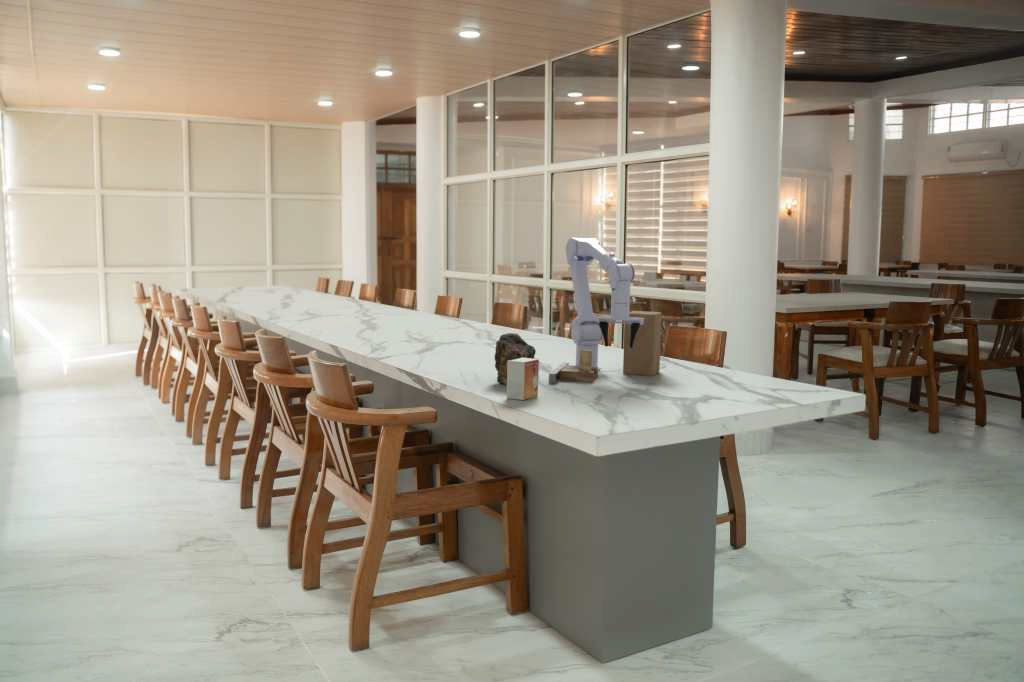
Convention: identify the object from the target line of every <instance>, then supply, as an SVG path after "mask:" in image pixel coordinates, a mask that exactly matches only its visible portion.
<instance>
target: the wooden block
mask: <svg viewBox="0 0 1024 682" xmlns="http://www.w3.org/2000/svg"><path fill="white" fill-rule="evenodd" d="M662 314H663V313H662V312H660V311H645V310H631V311H629V317H637V318H644V324H643V325H640V327H639V329H638V331H637V333H636V336H635V339H634V342H633V347H632V348H630V339H631V325H632V324H624V334H623V336H624V337H623V359H622V360H623V361H622V362H623V363H622V365H623V366H622V374H623V375H632V376H633V375H634V376H647V377H653V376H655V375H657V374H659V373H660V367H661V366H660V365H661V341H662V340H661V338H662V337H661V336H662V316H663V315H662ZM624 322H626V321H624Z"/></svg>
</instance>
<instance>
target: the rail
mask: <svg viewBox="0 0 1024 682" xmlns="http://www.w3.org/2000/svg"><path fill="white" fill-rule="evenodd" d="M567 365H570V362H561V363H560V364H559V365H558V366H556V368H554V369H553V370H552V371H550V373H548V384H553V385H554V384H555V385H556V384H557V383H558V382H559V381H560V371H561V370H562V369H563V368H564V367H566V366H567Z"/></svg>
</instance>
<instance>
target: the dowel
mask: <svg viewBox="0 0 1024 682" xmlns="http://www.w3.org/2000/svg"><path fill="white" fill-rule="evenodd" d="M591 362H592V350H580V370H589V371H591Z"/></svg>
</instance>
